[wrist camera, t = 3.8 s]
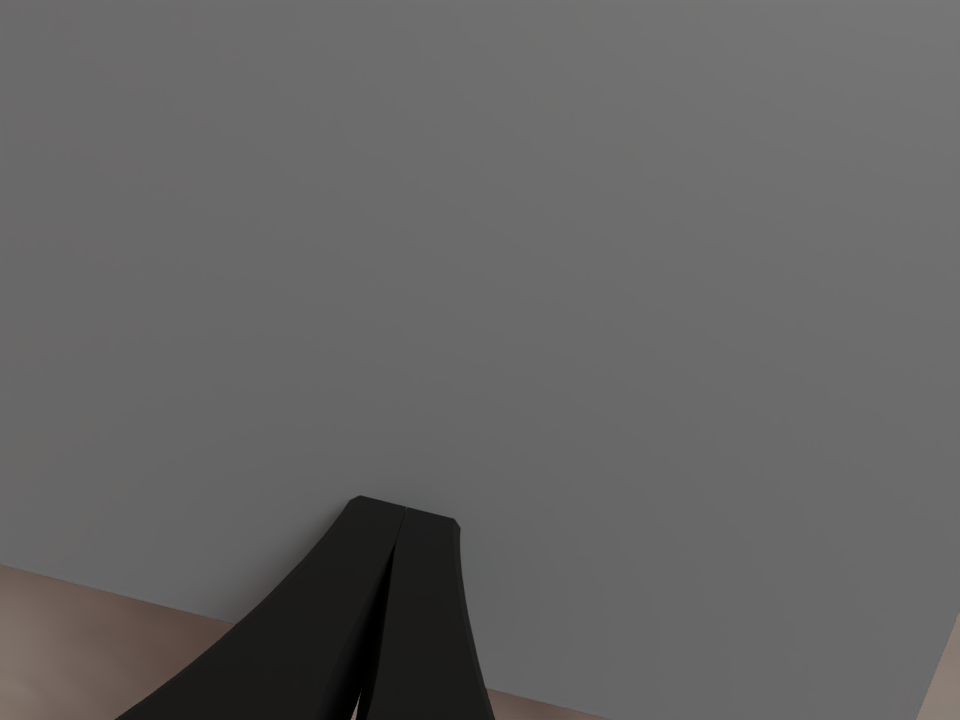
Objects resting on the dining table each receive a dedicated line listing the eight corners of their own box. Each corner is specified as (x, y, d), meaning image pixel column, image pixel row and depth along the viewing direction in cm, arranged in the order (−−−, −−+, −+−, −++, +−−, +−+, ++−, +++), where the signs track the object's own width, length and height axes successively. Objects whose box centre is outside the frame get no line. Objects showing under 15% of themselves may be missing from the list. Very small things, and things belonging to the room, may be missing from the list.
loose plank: (1148, -118, 11) (1277, -176, 9) (837, 703, 14) (887, 790, 12) (-83, -439, 11) (-208, -563, 9) (-169, 447, 14) (-282, 493, 12)
